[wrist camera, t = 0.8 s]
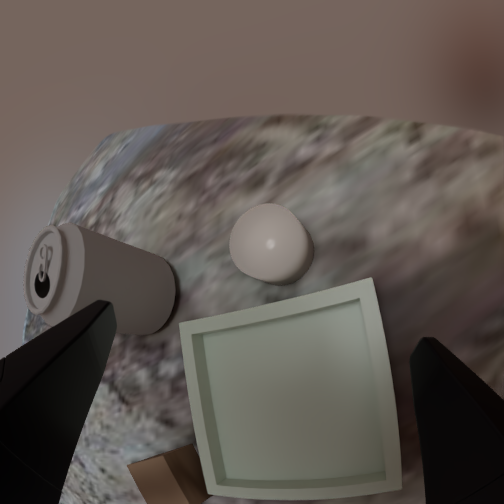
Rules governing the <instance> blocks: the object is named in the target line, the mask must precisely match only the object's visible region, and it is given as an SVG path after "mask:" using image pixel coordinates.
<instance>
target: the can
mask: <svg viewBox="0 0 504 504" xmlns="http://www.w3.org/2000/svg"><path fill="white" fill-rule="evenodd" d="M23 286H24V296H25V300H26V303H27V306H28V308H29V309H30V311H31V312H32V313H34V314H36V315H41V317H42V318H43V319H44V321H45V322H46V323H47V324H49V325H51V326H55V325H56V324H58V323H60V322H61V321H63V320H65V319H66V318H68V317H70V316H71V315H73V314H74V313H76V312H78V311H79V310H81V309H83V308H84V307H86V306H88V305H90V304H91V303H93V302H95V301H96V300H99V299H101V300H106V301H110V302H111V303H112V304H113V307H114V312H115V316H116V321H117V330H116V333H119V334H133V335H147V334H152V333H154V332H156V331H157V330H158V329H160V328H161V327H162V326H163V325H164V323H165V322H166V321H167V319H168V318H169V316H170V313H171V311H172V308H173V305H174V300H175V292H176V289H175V281H174V276H173V273H172V271H171V268H170V266H169V265H168V264H167V263H166V261H165V260H164V259H163V258H161V257H159V256H157V255H155V254H152V253H150V252H147V251H144V250H141V249H139V248H136V247H133V246H131V245H128V244H125V243H123V242H120V241H117V240H115V239H112V238H109V237H107V236H104V235H102V234H99V233H96V232H94V231H91V230H89V229H86V228H83V227H81V226H78V225H76V224H73V223H65V224H62V225H60V226H59V227H55V226H54V225H49V226H46V227H45V228H44V229H43V230H41V231H40V232H39V234H38V235H37V237H36V238H35V240H34V241H33V244H32V246H31V248H30V250H29V254H28V257H27V260H26V265H25V271H24V284H23Z"/></svg>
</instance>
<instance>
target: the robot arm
mask: <svg viewBox="0 0 504 504" xmlns="http://www.w3.org/2000/svg"><path fill="white" fill-rule="evenodd" d="M116 330H117V321H116V316H115V312H114V307H113V304H112V303H111V302H110V301H106V300H101V299H99V300H96V301H95V302H93V303H91V304H90V305H88V306H86V307H84V308H83V309H81V310H79V311H78V312H76V313H74V314H73V315H71V316H70V317H68V318H66V319H65V320H63V321H61V322H60V323H58V324H56V325H55V326H53V327H52V328H50V329H48V330H47V331H45V332H43V333H42V334H40V335H39V336H37V337H35V338H34V339H32V340H31V341H29V342H27V343H26V344H24V345H23V346H21V347H20V348H18V349H16V350H15V351H14V352H12V353H10V354H9V355H7V356H6V358H5V357H4V358H2V359H1V360H0V504H59V500H60V497H61V493H62V489H63V486H64V482H65V479H66V476H67V473H68V469H69V466H70V463H71V460H72V457H73V454H74V451H75V448H76V445H77V442H78V439H79V436H80V434H81V431H82V428H83V425H84V423H85V420H86V417H87V415H88V412H89V409H90V407H91V404H92V401H93V399H94V396H95V394H96V391H97V389H98V386H99V384H100V381H101V379H102V376H103V373H104V370H105V367H106V363H107V360H108V356H109V353H110V350H111V346H112V343H113V340H114V337H115V334H116ZM409 363H410V372H411V382H412V392H413V402H414V410H415V416H416V421H417V428H418V434H419V441H420V448H421V456H422V464H423V474H424V484H425V497H426V504H504V400H503V399H502V398H501V397H500V396H499V395H498V394H497V393H495V392H494V391H493V390H492V389H491V388H490V387H489V386H488V385H487V384H486V383H485V382H484V381H483V380H482V379H480V378H479V377H478V376H477V375H476V374H475V373H474V372H473V371H472V370H471V369H470V368H468V367H467V366H466V365H465V364H464V363H463V362H462V361H461V360H460V359H458V358H457V357H456V356H455V355H454V354H453V353H452V352H451V351H449V350H448V349H447V348H446V347H445V346H444V345H443V344H441V343H440V342H439V341H438V340H437V339H436V338H434V337H423V338H421V339H420V341H419V342H418V344H417V346H416V347H415V349H414V351H413V352H412V354H411V356H410V361H409Z"/></svg>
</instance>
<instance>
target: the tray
mask: <svg viewBox="0 0 504 504" xmlns="http://www.w3.org/2000/svg"><path fill="white" fill-rule="evenodd" d="M179 327H180V336H181V344H182V352H183V360H184V367H185V374H186V381H187V388H188V394H189V401H190V407H191V413H192V419H193V424H194V430H195V435H196V440H197V446H198V451H199V456H200V461H201V465H202V470H203V475H204V479H205V483H206V488H207V492H208V494H211V495H218V496H227V497H236V498H248V499H264V500H318V499H335V498H346V497H356V496H364V495H371V494H378V493H384V492H390V491H396V490H401V489H402V465H401V450H400V438H399V427H398V418H397V409H396V401H395V393H394V386H393V379H392V373H391V367H390V361H389V355H388V349H387V344H386V338H385V333H384V328H383V323H382V318H381V313H380V309H379V304H378V300H377V295H376V291H375V287H374V283H373V280H372V277H371V278H367V279H364V280H360V281H357V282H353V283H349V284H346V285H342V286H338V287H334V288H331V289H327V290H323V291H319V292H315V293H311V294H307V295H303V296H299V297H295V298H291V299H287V300H283V301H279V302H274V303H270V304H266V305H262V306H257V307H253V308H248V309H244V310H239V311H235V312H230V313H226V314H221V315H216V316H211V317H207V318H202V319H197V320H192V321H187V322H182V323H179Z"/></svg>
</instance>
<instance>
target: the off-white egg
mask: <svg viewBox="0 0 504 504" xmlns="http://www.w3.org/2000/svg"><path fill="white" fill-rule="evenodd" d="M229 247H230V254H231V257H232V260H233V262H234V263H235V265H236V266H237V267H238V268H239V269H240V270H241V271H242V272H243V273H245V274H247V275H249V276H252V277H254V278H256V279H259V280H261V281H264V282H266V283H269V284H271V285H277V286H283V285H288V284H291V283H293V282H295V281H297V280H299V279H300V278H301V277H302V276H303V275H304V274H305V273H306V272H307V271H308V269H309V267H310V265H311V263H312V260H313V256H314V245H313V241H312V238H311V236H310V234H309V232H308V231H307V230H306V229H305V228H304V226H303V225H302V224H301V223H300V222H299V221H298V219H297V218H296V217H295V216H294V215H293V214H292V213H291V212H290V211H289V210H288V209H287V208H285V207H283V206H281V205H278V204H272V203H267V204H261V205H257V206H255V207H253V208H251V209H249V210H248V211H246V212H245V213H244V214H243V215H242V216H241V217H240V218H239V219H238V221H237V222H236V224H235V225H234V227H233V230H232V232H231V236H230V243H229Z"/></svg>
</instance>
